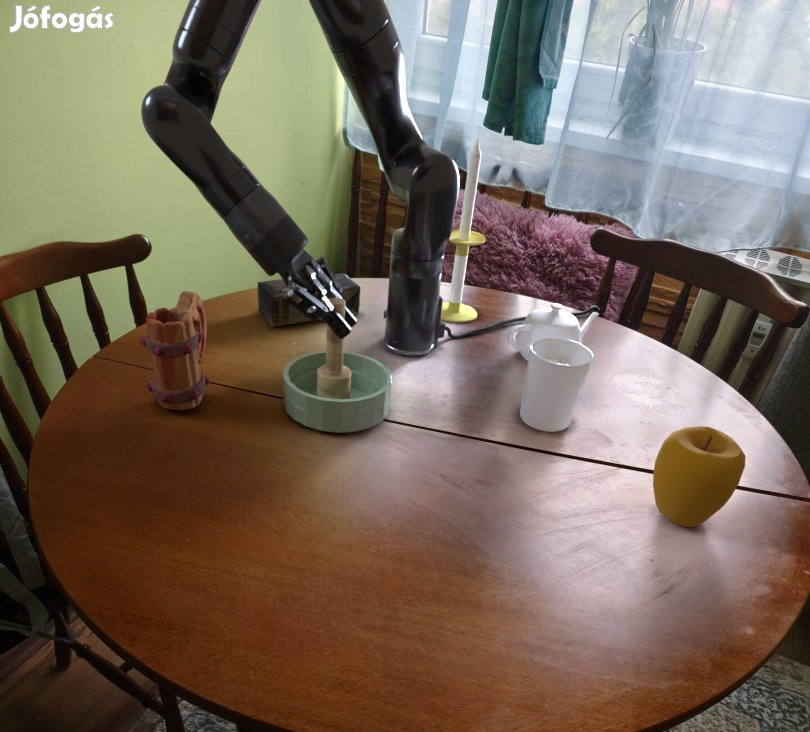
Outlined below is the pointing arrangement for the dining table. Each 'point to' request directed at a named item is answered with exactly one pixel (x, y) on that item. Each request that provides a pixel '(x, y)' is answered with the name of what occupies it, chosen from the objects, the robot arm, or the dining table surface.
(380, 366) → the bowl
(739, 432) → the dining table surface
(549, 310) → the teapot
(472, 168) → the candle
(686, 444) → the apple
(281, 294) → the beverage carton
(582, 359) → the white cup
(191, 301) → the mug
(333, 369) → the wooden masher
